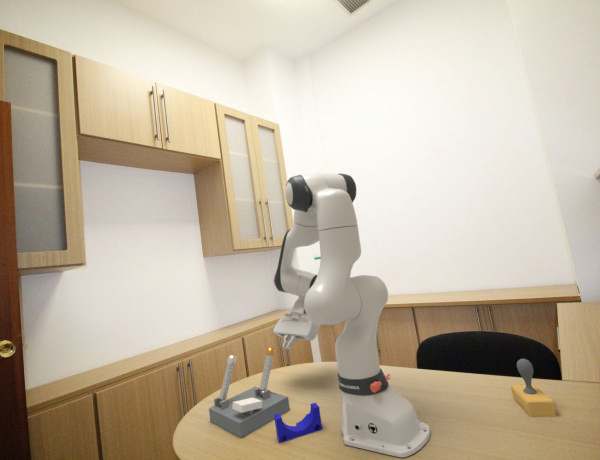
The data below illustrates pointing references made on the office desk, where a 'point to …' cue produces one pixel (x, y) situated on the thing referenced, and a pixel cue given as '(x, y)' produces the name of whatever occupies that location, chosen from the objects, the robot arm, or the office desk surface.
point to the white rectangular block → (247, 405)
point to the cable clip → (298, 425)
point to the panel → (248, 412)
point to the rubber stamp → (531, 394)
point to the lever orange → (266, 370)
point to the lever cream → (226, 379)
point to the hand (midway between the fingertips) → (286, 348)
